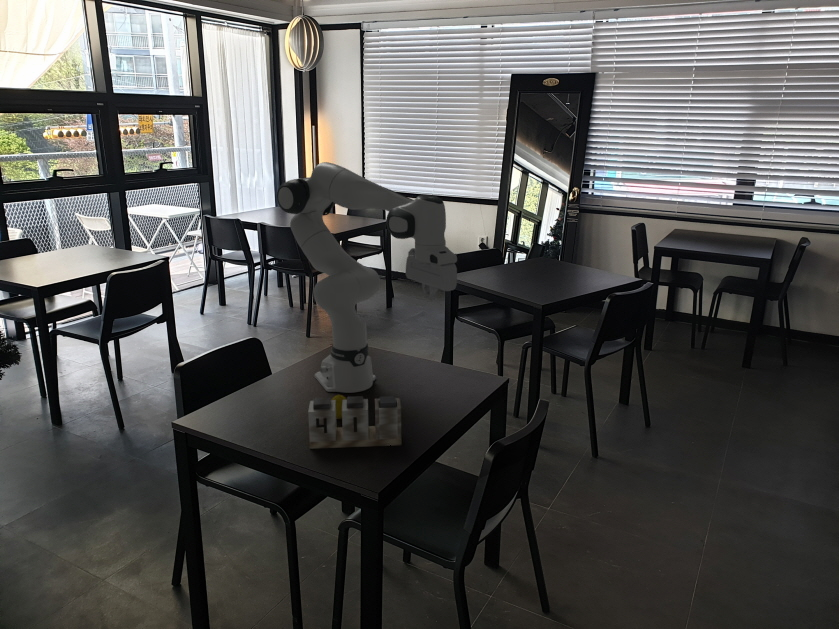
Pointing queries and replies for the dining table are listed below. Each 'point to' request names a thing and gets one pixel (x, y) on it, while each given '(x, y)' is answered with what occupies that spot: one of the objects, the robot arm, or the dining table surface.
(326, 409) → the button panel
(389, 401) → the plain button
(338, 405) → the lemon
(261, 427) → the dining table surface
